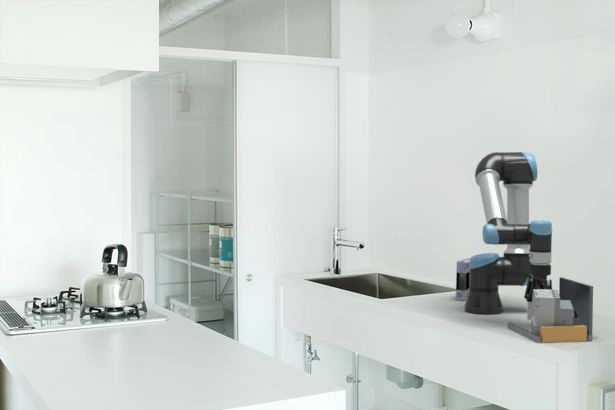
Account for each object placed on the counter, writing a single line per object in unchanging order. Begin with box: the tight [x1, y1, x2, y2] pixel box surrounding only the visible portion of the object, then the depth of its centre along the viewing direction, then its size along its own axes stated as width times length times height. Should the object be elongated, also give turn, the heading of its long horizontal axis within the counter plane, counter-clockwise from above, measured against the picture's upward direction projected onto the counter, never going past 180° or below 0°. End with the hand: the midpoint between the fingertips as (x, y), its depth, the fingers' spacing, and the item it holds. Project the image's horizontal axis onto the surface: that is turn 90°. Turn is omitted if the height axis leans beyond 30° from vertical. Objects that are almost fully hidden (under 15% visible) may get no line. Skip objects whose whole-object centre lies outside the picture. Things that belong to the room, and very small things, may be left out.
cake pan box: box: [455, 257, 471, 302], centre depth 346 cm, size 19×5×18 cm, turn 147°
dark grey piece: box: [507, 277, 594, 344], centre depth 270 cm, size 25×21×18 cm
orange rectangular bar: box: [540, 325, 588, 343], centre depth 258 cm, size 2×16×5 cm, turn 98°
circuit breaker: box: [530, 289, 578, 336], centre depth 264 cm, size 8×14×15 cm, turn 80°
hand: (538, 323), depth 276 cm, fingers open, 13 cm apart
